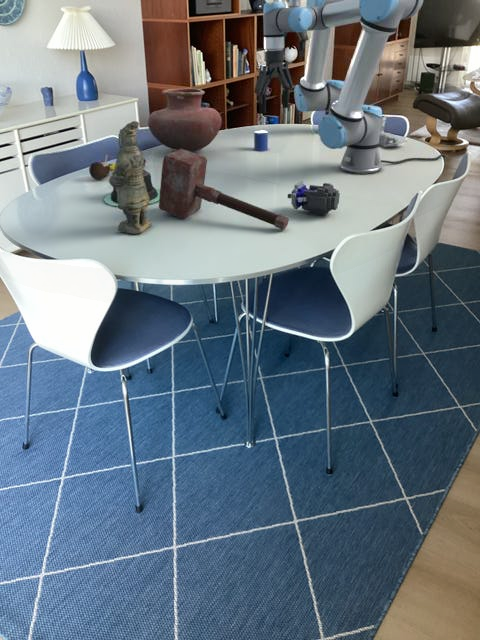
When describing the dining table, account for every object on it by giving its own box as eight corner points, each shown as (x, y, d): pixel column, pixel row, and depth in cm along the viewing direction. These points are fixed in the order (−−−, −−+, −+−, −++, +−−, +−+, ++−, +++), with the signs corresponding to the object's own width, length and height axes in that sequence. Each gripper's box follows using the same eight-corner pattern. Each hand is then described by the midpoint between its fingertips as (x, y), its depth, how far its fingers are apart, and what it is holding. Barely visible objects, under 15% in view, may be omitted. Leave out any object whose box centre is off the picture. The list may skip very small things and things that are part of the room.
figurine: (152, 155, 217) (104, 161, 197) (152, 175, 220) (105, 183, 201) (127, 151, 223) (79, 157, 204) (128, 170, 226) (80, 177, 207)
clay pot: (228, 143, 251) (226, 84, 239) (213, 161, 226) (210, 95, 213) (163, 142, 256) (158, 84, 243) (142, 159, 231) (135, 95, 218)
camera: (379, 113, 243) (410, 118, 235) (376, 141, 250) (406, 146, 241) (369, 117, 238) (400, 121, 229) (366, 144, 244) (396, 150, 235)
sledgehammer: (299, 190, 156) (179, 147, 167) (285, 200, 148) (161, 154, 160) (286, 244, 166) (174, 200, 177) (272, 256, 158) (156, 209, 170)
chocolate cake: (91, 202, 180) (113, 186, 197) (142, 231, 182) (160, 212, 199) (107, 162, 172) (129, 148, 190) (160, 192, 174) (177, 176, 192)
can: (268, 148, 244) (268, 130, 240) (267, 151, 239) (267, 133, 235) (254, 147, 244) (254, 130, 241) (253, 151, 239) (253, 133, 236)
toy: (295, 178, 172) (342, 184, 166) (295, 205, 177) (340, 211, 171) (285, 186, 166) (333, 192, 160) (284, 213, 170) (331, 220, 164)
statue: (131, 220, 168) (117, 116, 152) (158, 224, 164) (147, 118, 149) (109, 233, 159) (93, 124, 144) (138, 237, 156) (124, 126, 140)
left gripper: (269, 7, 273) (269, 54, 284) (305, 7, 257) (304, 57, 267) (280, 6, 277) (280, 53, 288) (317, 7, 261) (314, 56, 271)
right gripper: (287, 47, 216) (287, 105, 227) (243, 52, 201) (245, 114, 211) (302, 47, 211) (301, 106, 222) (259, 52, 196) (260, 115, 207)
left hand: (291, 55), depth 278 cm, fingers open, 13 cm apart
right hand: (274, 110), depth 217 cm, fingers open, 13 cm apart
